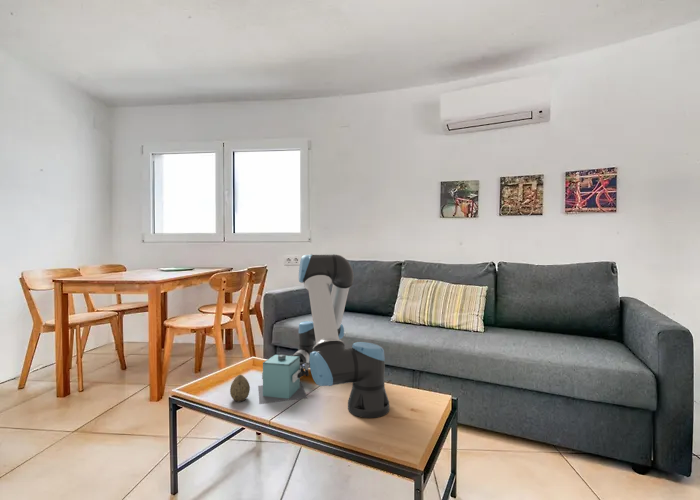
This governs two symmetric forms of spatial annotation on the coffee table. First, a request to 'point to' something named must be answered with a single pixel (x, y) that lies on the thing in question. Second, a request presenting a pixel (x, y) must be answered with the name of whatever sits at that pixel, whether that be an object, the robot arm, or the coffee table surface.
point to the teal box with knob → (280, 376)
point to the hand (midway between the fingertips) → (277, 377)
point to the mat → (265, 399)
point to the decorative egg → (239, 388)
